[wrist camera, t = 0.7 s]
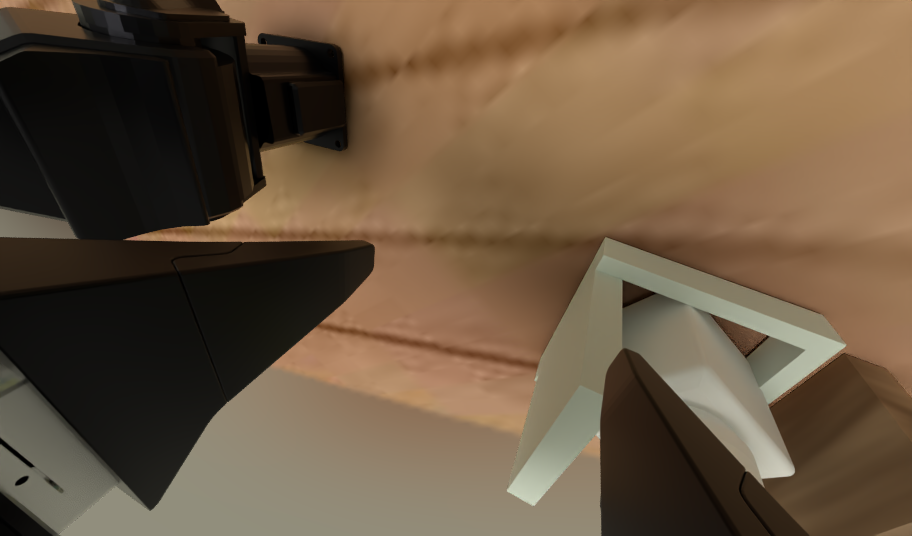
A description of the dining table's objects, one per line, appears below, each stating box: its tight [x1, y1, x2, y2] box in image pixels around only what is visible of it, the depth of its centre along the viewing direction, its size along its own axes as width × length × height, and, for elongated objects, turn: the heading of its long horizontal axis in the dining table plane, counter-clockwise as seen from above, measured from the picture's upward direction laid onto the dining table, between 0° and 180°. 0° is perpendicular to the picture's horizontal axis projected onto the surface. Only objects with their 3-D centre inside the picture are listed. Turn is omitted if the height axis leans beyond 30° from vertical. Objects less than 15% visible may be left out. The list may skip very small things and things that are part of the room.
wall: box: [762, 354, 912, 536], centre depth 17 cm, size 2×8×8 cm, turn 168°
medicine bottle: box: [596, 293, 795, 507], centre depth 17 cm, size 7×7×12 cm
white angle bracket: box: [507, 237, 847, 506], centre depth 18 cm, size 12×12×11 cm
